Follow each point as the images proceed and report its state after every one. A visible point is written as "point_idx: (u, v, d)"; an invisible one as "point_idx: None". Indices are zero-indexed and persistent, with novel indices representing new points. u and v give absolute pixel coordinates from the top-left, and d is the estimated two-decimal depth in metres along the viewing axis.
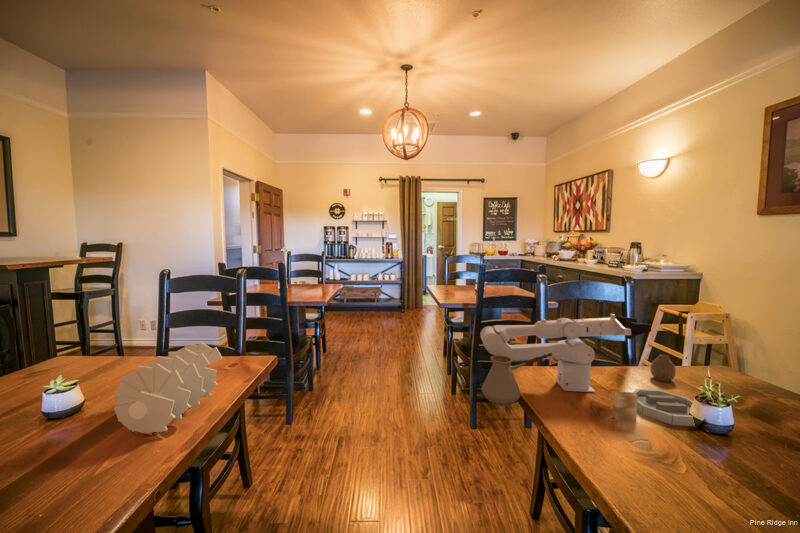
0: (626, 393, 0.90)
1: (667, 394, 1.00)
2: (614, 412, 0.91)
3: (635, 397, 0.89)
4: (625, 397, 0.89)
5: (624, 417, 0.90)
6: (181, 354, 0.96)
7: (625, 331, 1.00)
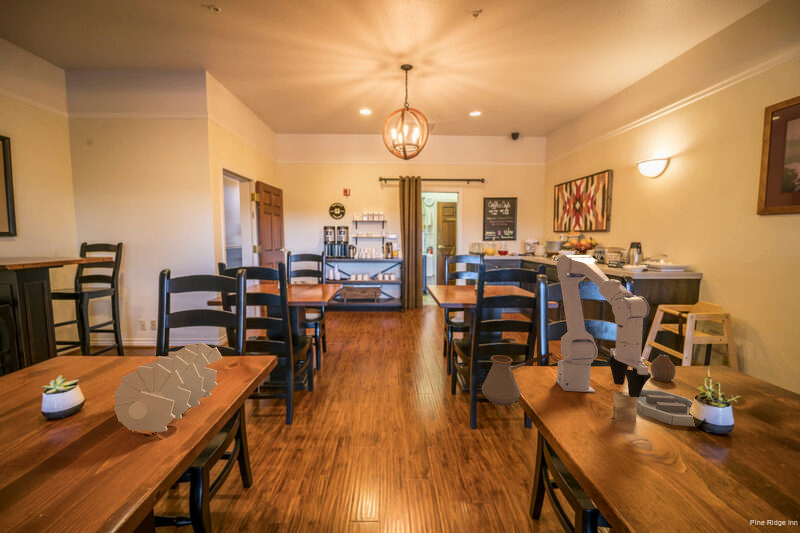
0: (626, 393, 0.90)
1: (667, 394, 1.00)
2: (614, 412, 0.91)
3: (635, 397, 0.89)
4: (625, 397, 0.89)
5: (624, 417, 0.90)
6: (181, 354, 0.96)
7: (644, 368, 0.82)
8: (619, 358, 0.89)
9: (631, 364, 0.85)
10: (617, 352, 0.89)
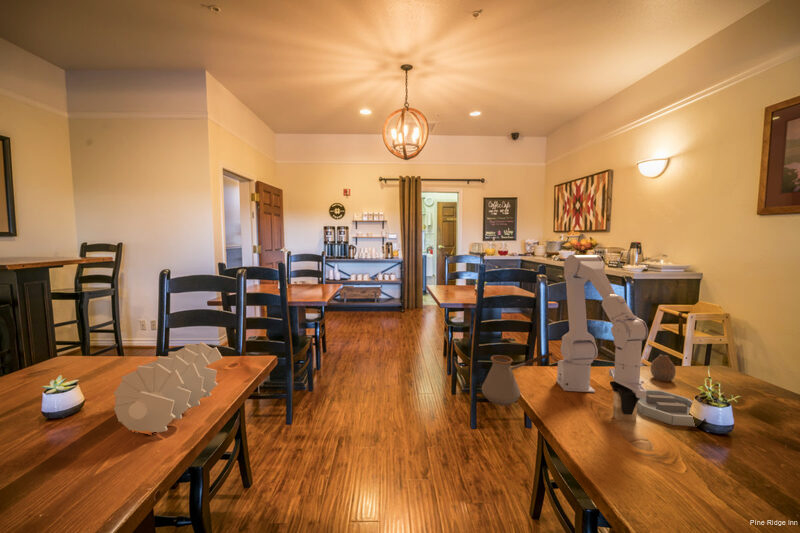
0: None
1: (667, 394, 1.00)
2: (614, 412, 0.91)
3: None
4: None
5: (624, 417, 0.90)
6: (181, 354, 0.96)
7: (643, 392, 0.83)
8: (618, 380, 0.89)
9: (630, 387, 0.86)
10: (616, 374, 0.90)
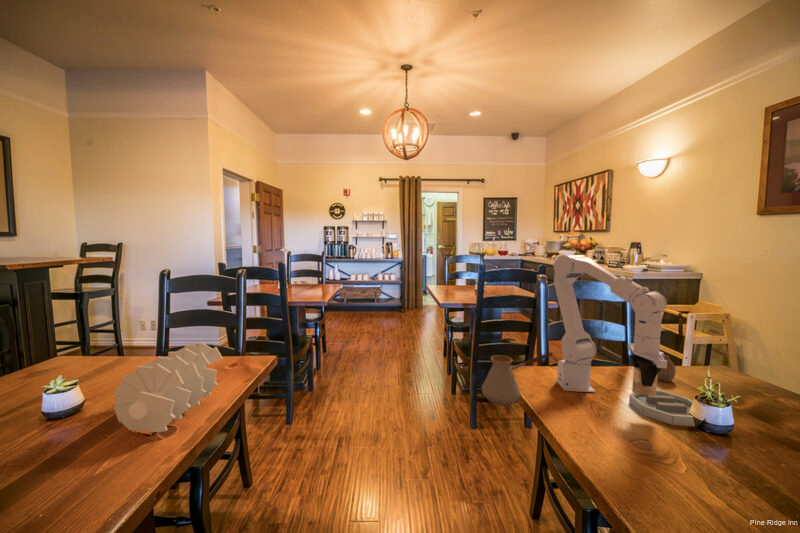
0: None
1: (667, 394, 1.00)
2: (634, 387, 0.93)
3: None
4: None
5: (644, 392, 0.91)
6: (181, 354, 0.96)
7: (664, 362, 0.84)
8: (638, 352, 0.90)
9: (650, 358, 0.87)
10: (636, 346, 0.91)
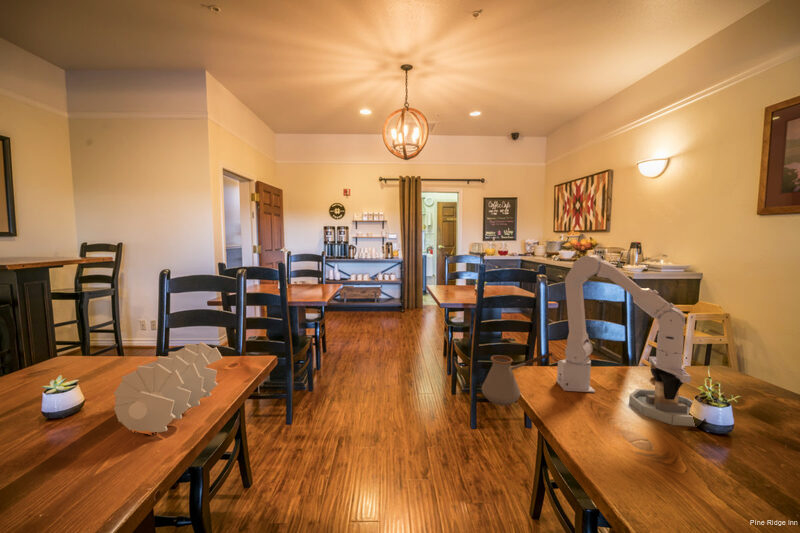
0: None
1: None
2: (655, 401, 0.95)
3: None
4: None
5: None
6: (181, 354, 0.96)
7: (688, 377, 0.87)
8: (660, 366, 0.93)
9: (674, 372, 0.90)
10: (658, 361, 0.94)
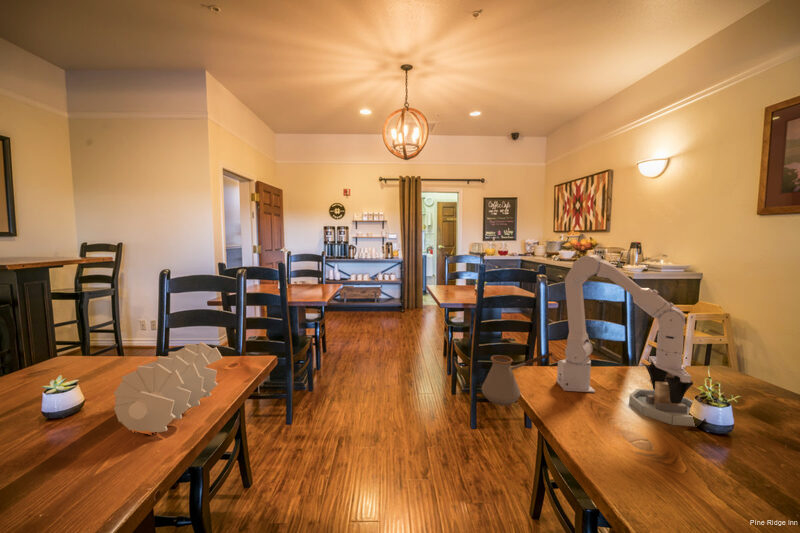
0: (667, 383, 0.94)
1: None
2: (655, 401, 0.95)
3: None
4: (667, 386, 0.94)
5: None
6: (181, 354, 0.96)
7: (688, 376, 0.87)
8: (660, 366, 0.93)
9: (673, 372, 0.90)
10: (658, 360, 0.94)
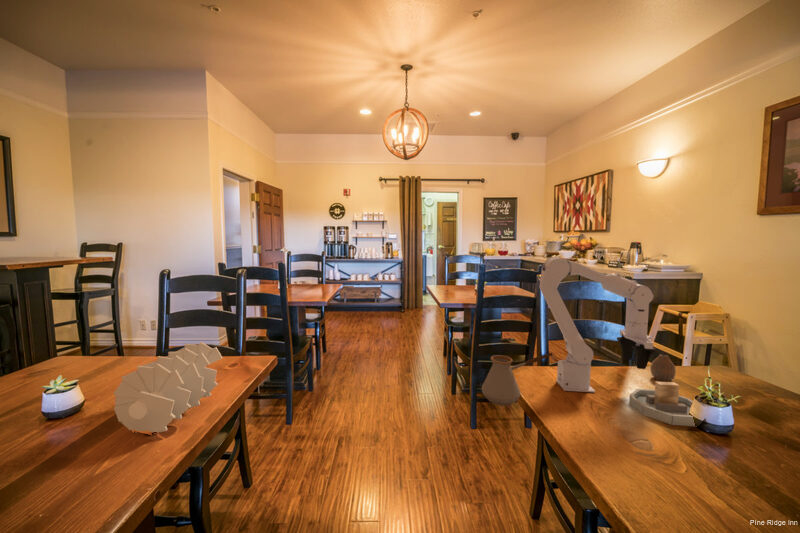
0: (667, 383, 0.94)
1: None
2: (655, 401, 0.95)
3: (677, 386, 0.93)
4: (667, 386, 0.94)
5: None
6: (181, 354, 0.96)
7: (650, 343, 0.98)
8: (628, 336, 1.04)
9: (639, 340, 1.00)
10: (626, 331, 1.05)
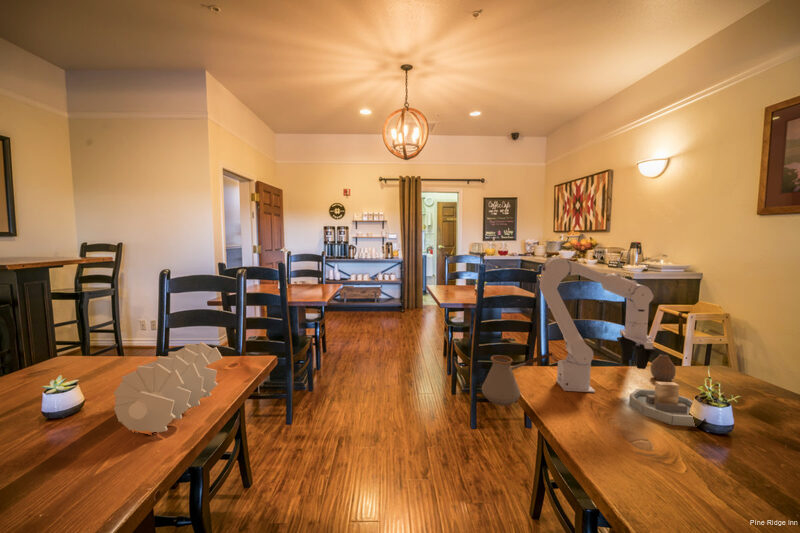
0: (667, 383, 0.94)
1: None
2: (655, 401, 0.95)
3: (677, 386, 0.93)
4: (667, 386, 0.94)
5: None
6: (181, 354, 0.96)
7: (650, 343, 0.98)
8: (628, 336, 1.04)
9: (639, 340, 1.00)
10: (626, 331, 1.05)
